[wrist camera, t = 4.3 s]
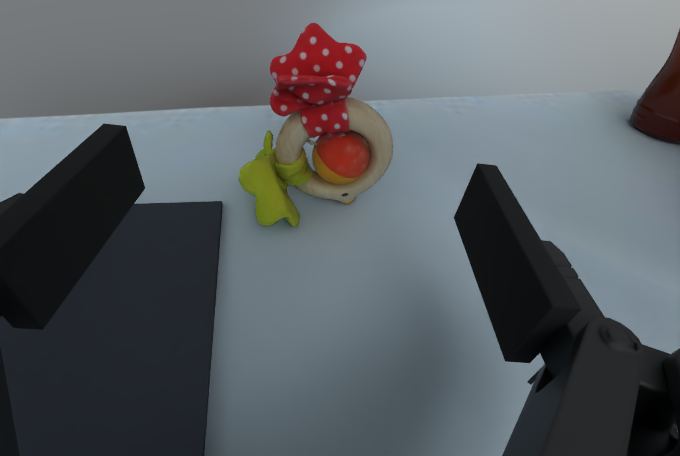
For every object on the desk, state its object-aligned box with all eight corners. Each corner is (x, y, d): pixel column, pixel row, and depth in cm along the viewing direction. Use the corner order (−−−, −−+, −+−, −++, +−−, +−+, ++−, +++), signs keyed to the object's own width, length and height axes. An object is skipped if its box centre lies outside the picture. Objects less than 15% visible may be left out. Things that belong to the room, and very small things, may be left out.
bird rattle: (333, 196, 29) (221, 159, 24) (415, 70, 23) (287, -8, 19) (350, 252, 24) (217, 219, 20) (458, 113, 19) (303, 24, 14)
